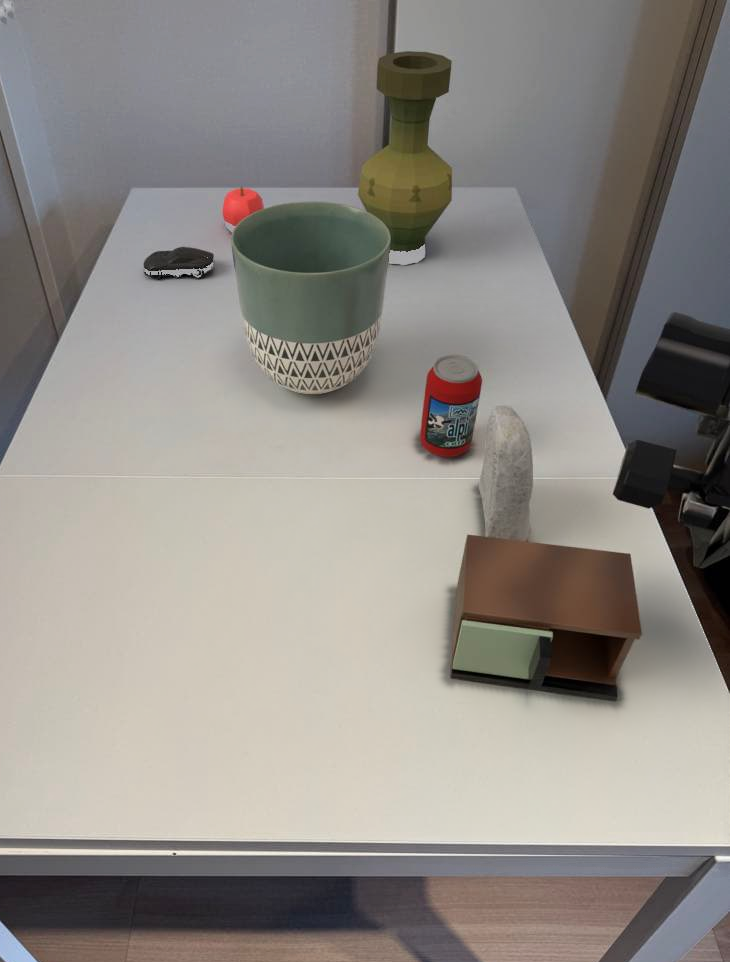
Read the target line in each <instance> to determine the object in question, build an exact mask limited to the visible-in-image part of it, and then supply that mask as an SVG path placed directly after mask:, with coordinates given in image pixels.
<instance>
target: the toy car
mask: <svg viewBox="0 0 730 962" xmlns="http://www.w3.org/2000/svg"><path fill="white" fill-rule="evenodd" d="M207 257H208V258H207ZM214 257H215V255H214V253H213V252H211V251H208V250H203V249H200V248H196V247H191V246H179V247H176V248H173V250H158V251H157V250H156V251H154V252H152V253H151V254H150V255H148V256H147V257H146V258H145V259H144V261H143V269H144V268H145V269H147V270H148V271H159V270H160V271H161V270H176V269H178V270H179V269H193V268H194V269H199V268H200V269H203V268H207V267H206V266H208V265H210V264H211V263H212V262H213V260H214ZM143 274H144V275H145V276H148V277H151V278H152V279H153V280H159V279H161V278H162V277H173V278H175V277H176V278H175V279H179V278H178V277H177V276H176V275H175V277H174V276H173V275H172V276H170V274H166V275H165V274H164V275H162V272H161V275H159V272H158V275H151V272H150V275H148V274H146V272H144V271H143ZM197 276H198V275H197ZM201 276H202V275H201ZM179 277H180V275H179ZM202 277H203V276H202ZM180 278H181V277H180ZM196 279H198V278H196Z"/></svg>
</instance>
